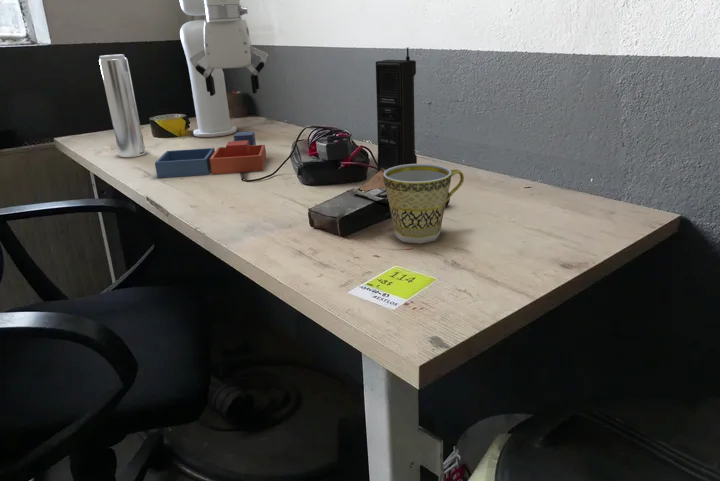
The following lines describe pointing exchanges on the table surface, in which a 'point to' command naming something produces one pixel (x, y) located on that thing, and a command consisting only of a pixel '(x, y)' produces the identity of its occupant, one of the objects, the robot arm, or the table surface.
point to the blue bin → (184, 163)
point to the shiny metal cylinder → (122, 105)
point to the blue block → (245, 137)
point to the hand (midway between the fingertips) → (233, 93)
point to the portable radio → (395, 112)
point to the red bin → (238, 161)
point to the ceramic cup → (418, 199)
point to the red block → (238, 148)
